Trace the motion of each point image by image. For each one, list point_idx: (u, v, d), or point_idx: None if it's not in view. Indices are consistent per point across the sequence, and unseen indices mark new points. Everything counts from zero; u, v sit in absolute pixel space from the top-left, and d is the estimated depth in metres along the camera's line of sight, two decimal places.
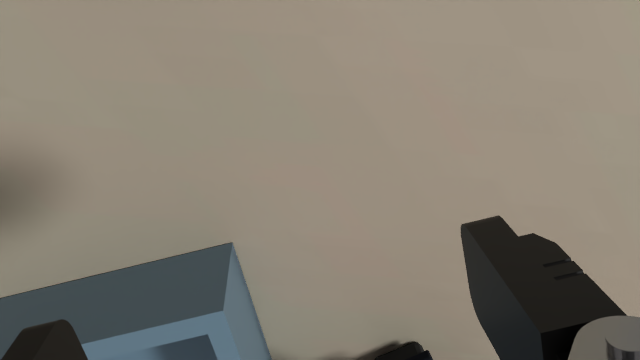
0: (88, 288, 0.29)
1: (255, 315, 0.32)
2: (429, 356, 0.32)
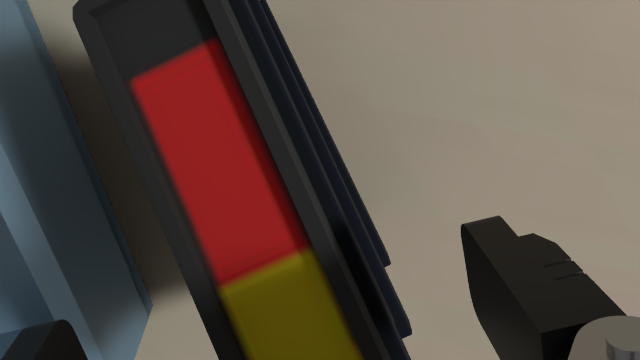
0: None
1: None
2: (263, 0, 0.20)
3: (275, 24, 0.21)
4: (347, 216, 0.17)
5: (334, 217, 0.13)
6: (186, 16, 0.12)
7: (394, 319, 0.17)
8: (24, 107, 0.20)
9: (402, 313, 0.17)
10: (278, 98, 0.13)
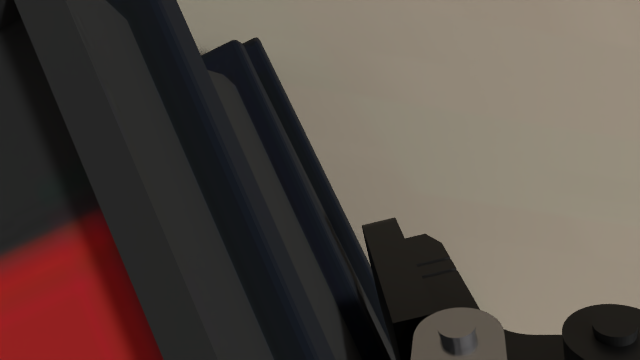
0: None
1: None
2: (255, 41, 0.12)
3: (275, 79, 0.13)
4: None
5: None
6: (25, 144, 0.04)
7: None
8: None
9: None
10: (285, 350, 0.05)
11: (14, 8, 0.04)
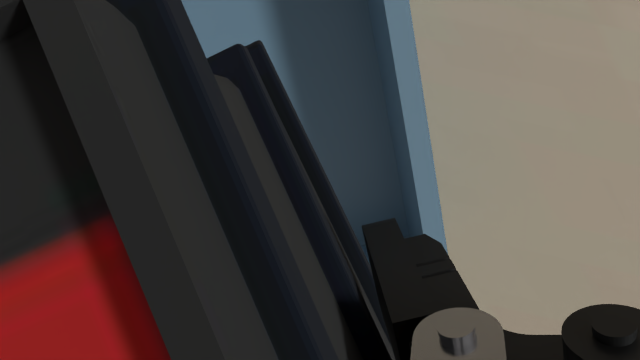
0: None
1: None
2: (258, 44, 0.13)
3: (277, 82, 0.13)
4: None
5: None
6: (36, 149, 0.04)
7: None
8: None
9: None
10: (292, 354, 0.05)
11: (25, 15, 0.04)
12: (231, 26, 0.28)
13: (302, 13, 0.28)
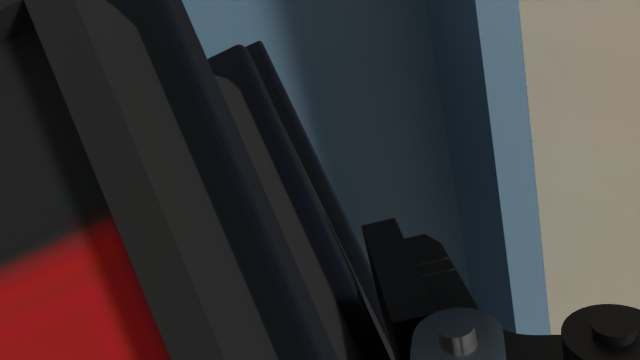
0: None
1: None
2: (258, 44, 0.13)
3: (278, 83, 0.13)
4: None
5: None
6: (37, 151, 0.04)
7: None
8: None
9: None
10: (292, 356, 0.05)
11: (27, 16, 0.04)
12: None
13: (329, 36, 0.18)
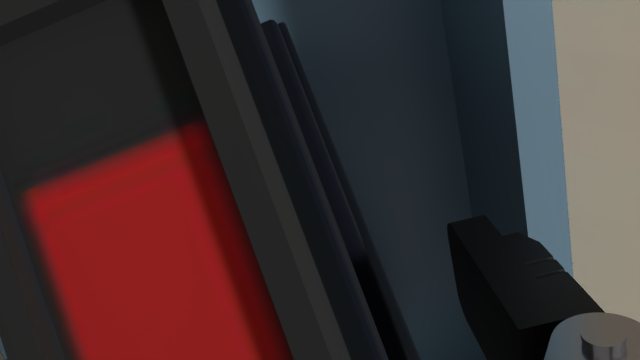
0: None
1: None
2: (282, 25, 0.14)
3: (297, 59, 0.14)
4: None
5: None
6: (145, 73, 0.06)
7: None
8: None
9: None
10: (317, 239, 0.07)
11: None
12: None
13: (335, 45, 0.17)
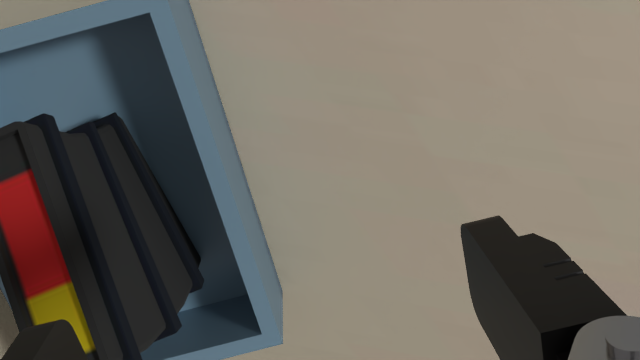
0: None
1: (207, 61, 0.34)
2: (112, 114, 0.32)
3: (120, 129, 0.32)
4: (140, 259, 0.28)
5: (94, 264, 0.24)
6: (19, 155, 0.23)
7: (165, 323, 0.28)
8: (231, 164, 0.33)
9: (171, 319, 0.28)
10: (69, 198, 0.24)
11: (18, 131, 0.23)
12: None
13: (150, 118, 0.34)
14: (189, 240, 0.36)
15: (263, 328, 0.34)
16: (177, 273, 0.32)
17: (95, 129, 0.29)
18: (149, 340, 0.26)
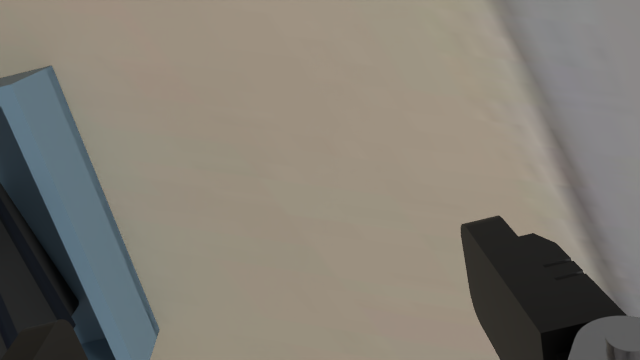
0: None
1: (76, 133, 0.38)
2: None
3: None
4: None
5: None
6: None
7: None
8: (92, 227, 0.37)
9: None
10: None
11: None
12: None
13: (26, 182, 0.38)
14: (66, 287, 0.41)
15: None
16: (43, 322, 0.37)
17: None
18: None
